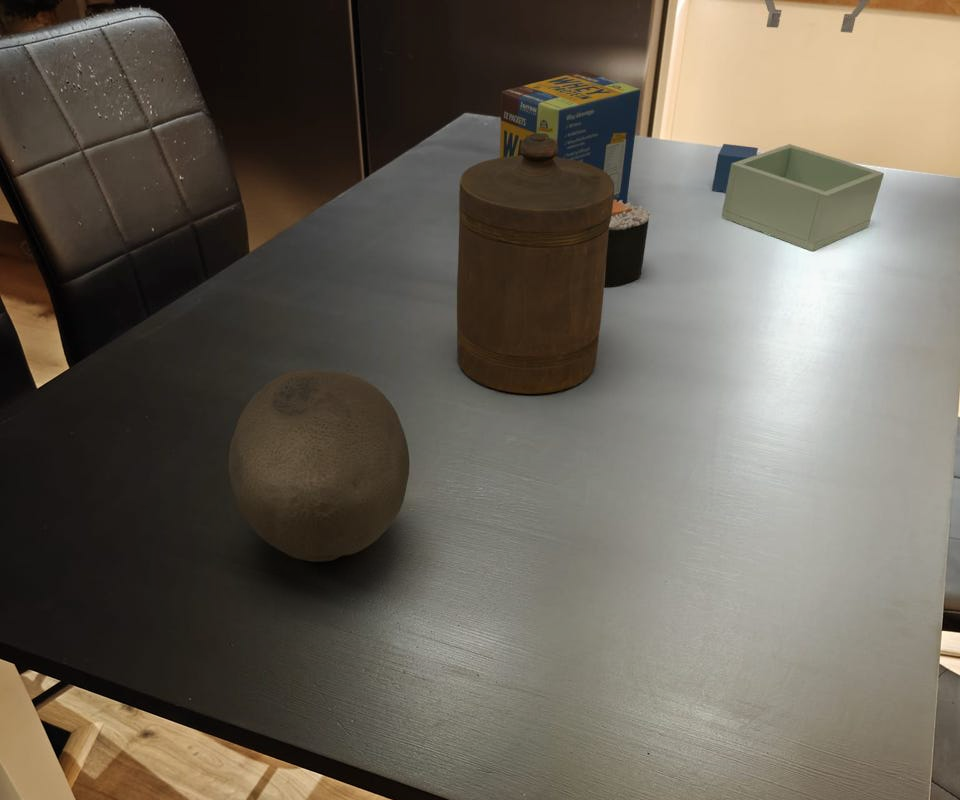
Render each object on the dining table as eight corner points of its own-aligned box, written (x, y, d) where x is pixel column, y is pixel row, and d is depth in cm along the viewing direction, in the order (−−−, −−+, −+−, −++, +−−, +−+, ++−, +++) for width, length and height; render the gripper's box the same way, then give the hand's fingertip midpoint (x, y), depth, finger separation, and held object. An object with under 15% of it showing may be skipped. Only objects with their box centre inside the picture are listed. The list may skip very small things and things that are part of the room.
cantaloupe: (207, 562, 75) (165, 396, 65) (322, 478, 84) (301, 319, 73) (342, 631, 70) (321, 462, 59) (450, 534, 78) (449, 371, 68)
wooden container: (620, 352, 101) (648, 130, 86) (549, 411, 92) (566, 175, 77) (506, 315, 107) (513, 101, 92) (429, 367, 98) (422, 140, 83)
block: (750, 184, 139) (758, 147, 135) (746, 195, 136) (753, 158, 132) (716, 179, 140) (723, 143, 136) (711, 190, 137) (718, 154, 133)
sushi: (605, 292, 112) (612, 224, 106) (560, 268, 117) (565, 201, 111) (654, 276, 115) (663, 209, 110) (608, 253, 120) (616, 188, 114)
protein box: (496, 217, 128) (499, 90, 117) (574, 191, 136) (584, 69, 125) (549, 240, 123) (558, 109, 112) (628, 212, 130) (643, 86, 119)
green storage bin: (868, 227, 128) (884, 172, 123) (812, 251, 121) (827, 195, 116) (777, 196, 135) (789, 143, 131) (721, 217, 129) (731, 163, 124)
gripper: (927, -105, 113) (892, 29, 122) (755, -111, 118) (734, 19, 127) (928, -99, 108) (891, 39, 118) (749, -106, 113) (728, 28, 123)
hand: (809, 29), depth 123 cm, fingers open, 8 cm apart
